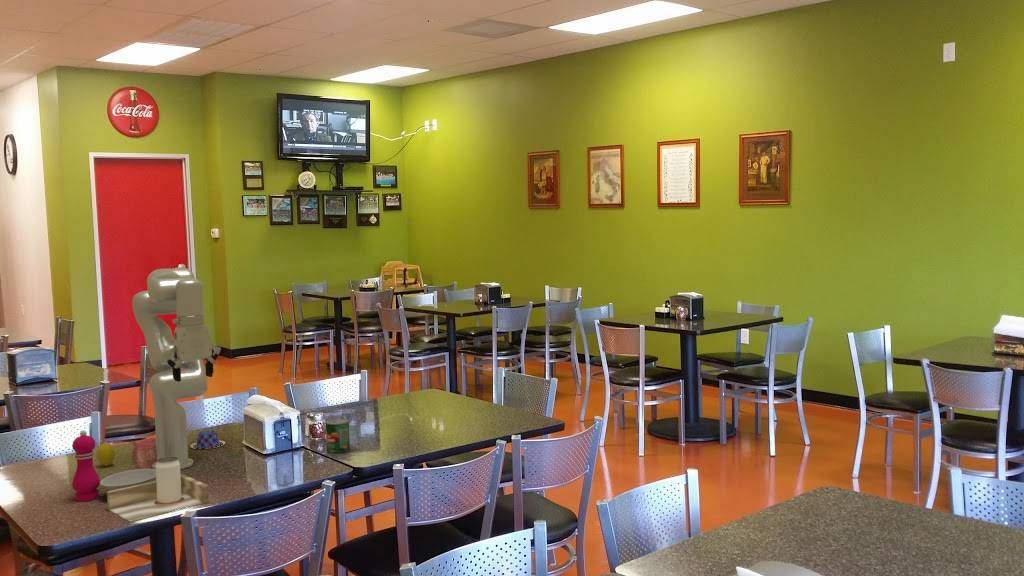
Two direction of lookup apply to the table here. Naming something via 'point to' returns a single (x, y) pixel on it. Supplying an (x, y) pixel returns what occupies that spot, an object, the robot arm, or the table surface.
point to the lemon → (105, 454)
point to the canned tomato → (337, 436)
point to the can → (168, 480)
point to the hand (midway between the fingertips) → (193, 378)
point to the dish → (128, 478)
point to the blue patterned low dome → (207, 440)
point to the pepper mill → (85, 469)
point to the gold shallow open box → (154, 499)
